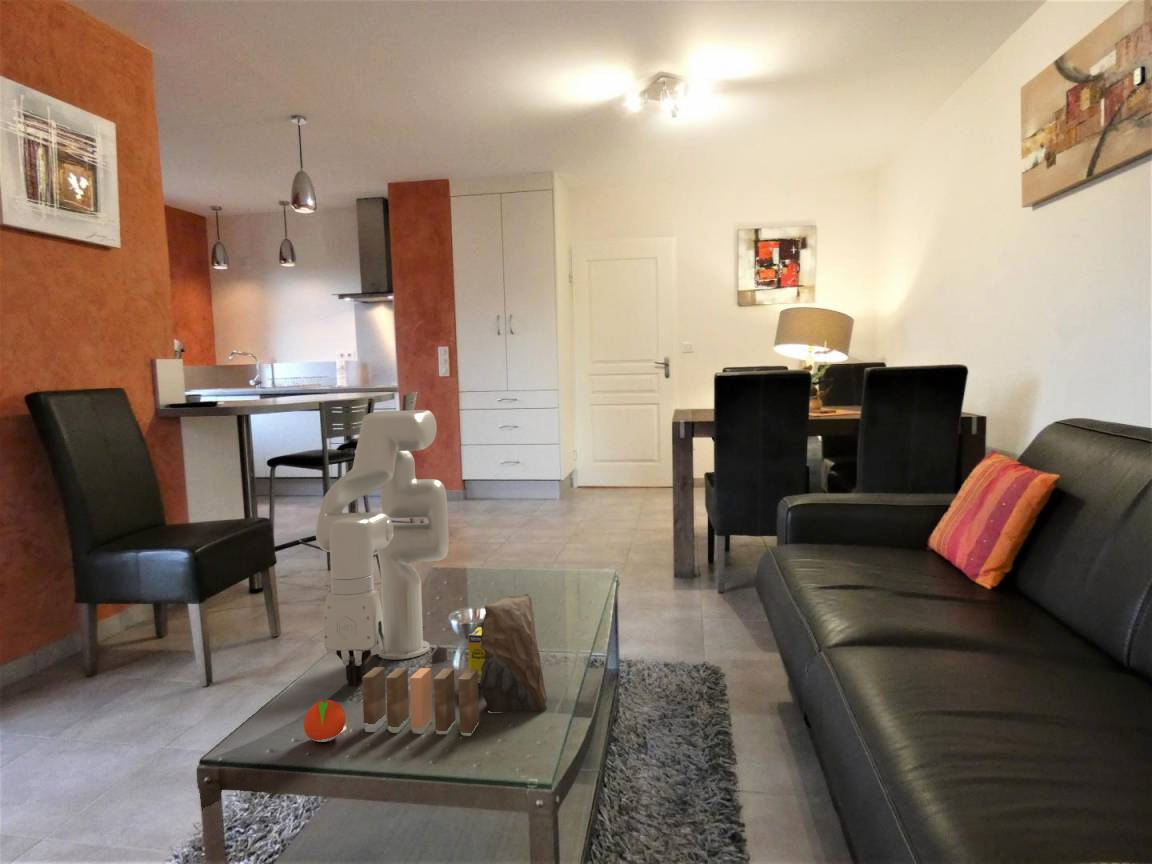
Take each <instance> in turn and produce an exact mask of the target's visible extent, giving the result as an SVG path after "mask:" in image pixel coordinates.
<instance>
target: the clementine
mask: <svg viewBox="0 0 1152 864" xmlns="http://www.w3.org/2000/svg"><path fill="white" fill-rule="evenodd" d="M346 719H347V718H346V713H345V710H344V708H343V706H341V705H340V703H338V702H336V701H334V700H332V699H324V700H320V701H318V702H316V703H315V704H313V705H312V706H311V707H310V708H309V710H308V711H307V713H306V714H305V716H304V718H303V729H304V730H303V731H304V733H305V735H306V736H307V738H308V739H310V738H311V739H314V740H322V739H327V738H331V737H334V736H336V735H338V734H339V733H340V732H341V731H342V732H343V730H344V727H345V725H346V721H347V720H346ZM342 732H341V733H342ZM341 733H340V734H341ZM311 739H310V740H311Z"/></svg>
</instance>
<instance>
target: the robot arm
mask: <svg viewBox="0 0 1152 864" xmlns="http://www.w3.org/2000/svg"><path fill="white" fill-rule="evenodd" d="M436 420H437V419H436V418H435V415H434V414H433V413H432V411H430V410H427V409H416V410H415V409H413V410H382V411H373V412H371V413H368V414H366V415H364V416H363V418H362V420H361V426H360V430H359V434H358V439H357V444H356V449H355V454H354V460H353V464H352V468H351V469H350V470H349V471H348V472H346V473H345V474H344V475H342V476H341V477H340V478H339V479H338V480H337V481H336V482H335V483H333V484H332V485H331V487H330V488H329V489H328V490H327V492H326V493H325V495H324V497H323V499H322V501H321V503H320V504H321V505H320V509H319V513H318V518H317V522H316V527H315V528H316V529H315V539H316V544H317V546H318V547H319V549H321V550H322V551H324V552H327V553H330V554H329V556H330V557H329V558H330V578H326V579H325V581H324V585H325V587H329V588H330V593H328V594H327V596H326V599H325V604H324V605H325V606H324V612H323V622H322V645H323V647H324V648H325V649H326V652H327V653H329V654H332V655H337V657H338V658H339V659H340V660H341V661H342V665H344V666H345V678H346V679H345V680H346V681H347V688H355V689H356V688H358V687H360V686H361V685H363V683H362V677H363V676H364V675H366V661H367V660H368V659H369V658H370V657H371V656H375V655H377V654H378V655H379V656H378V655H377V656H378V657H379V658H380V657H381V659H385V660H390V661H391V660H394V661H395V660H406V659H412V658H417V657H419V656H422V655H424V654H427V652H429V650H430V643H429V642H428V641H426V640H424V630H423V628H424V627H423V603H422V600H423V599H422V580H421V576H420V573H419V572H418V571H417V570H416V569H415V567H414V566H413V565H412V564H413V563H425V562H427V563H428V562H438V561H443V560H444V559H445V558H446V557H447V555H448V553H449V548H450V544H449V543H450V541H449V539H450V535H449V515H448V514H449V513H448V498H447V490H446V488H445V485H444V483H443V482H442V481H440V480H438V479H433V478H423V479H417V477H416V468H415V466H416V463H415V458H414V456H413V454H412V452H413V451H414V452H415V451H423V450H425V449H427V448H428V447H429V446H430V445H432V444H433V443H434V441H435V439H436V435H437V430H438V429H437V427H438V426H437V421H436ZM410 451H411V452H410ZM376 491H380V492H379V493H380V494H379V495H380V506H381V512H380V511H379V512H377V511H375V512H374V511H371V512H368V511H367V512H344V513H343V512H342V511H343V510H344V508H346V506H348V505H349V504H351V503H352V502H354V501H356V500H357V499H360V498H362V497H364V496H367V495H369V494H371V493H374V492H376ZM421 518H422V519H426V520H427V521H428V522H419V523H418V522H417V523H414V522H413V523H412V522H409V523H395V524H394V523H393V521H392V519H399V520H401V519H421ZM374 552H377V556H378V557H377V559H378V563H379V569H380V570H379V571H380V582H381V599H380V596H379V592H378V590H376V589H375V573H374V571H375V570H374V569H375V568H374Z"/></svg>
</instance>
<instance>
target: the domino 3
mask: <svg viewBox="0 0 1152 864" xmlns="http://www.w3.org/2000/svg"><path fill="white" fill-rule="evenodd" d="M409 692H410V694H409V696H410V722H411V729H412V728H420V729H422V728H423V727H424V726H425V725H426V724H427V723H428V722H429V721H430V720H431V719H432V720H433V702H432V698H433V696H432V694H433V692H432V668H431V667H420V668H419V669H418V670H417V671H415V673H413V674H412V675H411V676H410V677H409Z"/></svg>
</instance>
